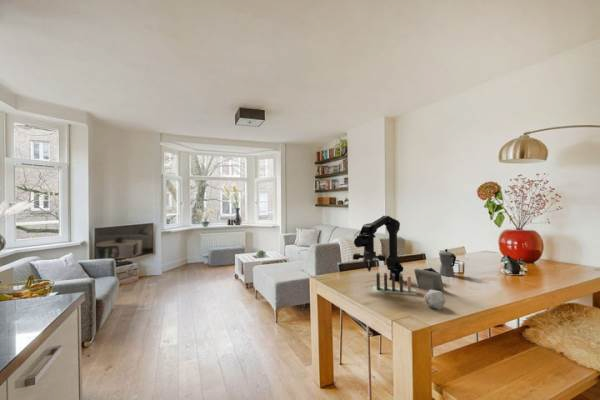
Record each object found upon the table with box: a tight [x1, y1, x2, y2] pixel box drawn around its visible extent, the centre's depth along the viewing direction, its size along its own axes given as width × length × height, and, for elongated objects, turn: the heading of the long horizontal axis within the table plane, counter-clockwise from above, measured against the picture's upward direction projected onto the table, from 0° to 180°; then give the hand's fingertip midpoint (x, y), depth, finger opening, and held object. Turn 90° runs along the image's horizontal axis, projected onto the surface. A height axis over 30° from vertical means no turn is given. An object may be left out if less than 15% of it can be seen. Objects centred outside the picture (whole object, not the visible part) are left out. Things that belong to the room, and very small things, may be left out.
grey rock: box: [423, 289, 446, 310], centre depth 134 cm, size 8×9×10 cm
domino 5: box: [406, 274, 412, 293], centre depth 156 cm, size 2×5×9 cm, turn 162°
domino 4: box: [399, 273, 404, 292], centre depth 158 cm, size 2×5×9 cm, turn 161°
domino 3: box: [391, 274, 396, 291], centre depth 159 cm, size 2×5×9 cm, turn 162°
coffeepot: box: [438, 248, 457, 278], centre depth 189 cm, size 15×9×18 cm, turn 9°
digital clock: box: [414, 268, 445, 291], centre depth 162 cm, size 16×9×11 cm, turn 25°
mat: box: [371, 285, 417, 296], centre depth 159 cm, size 24×10×1 cm, turn 71°
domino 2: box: [383, 272, 388, 291], centre depth 161 cm, size 2×5×9 cm, turn 161°
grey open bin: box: [422, 267, 439, 273], centre depth 175 cm, size 13×14×10 cm
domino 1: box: [376, 272, 381, 290], centre depth 162 cm, size 2×5×9 cm, turn 162°
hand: (369, 271), depth 164 cm, fingers closed
